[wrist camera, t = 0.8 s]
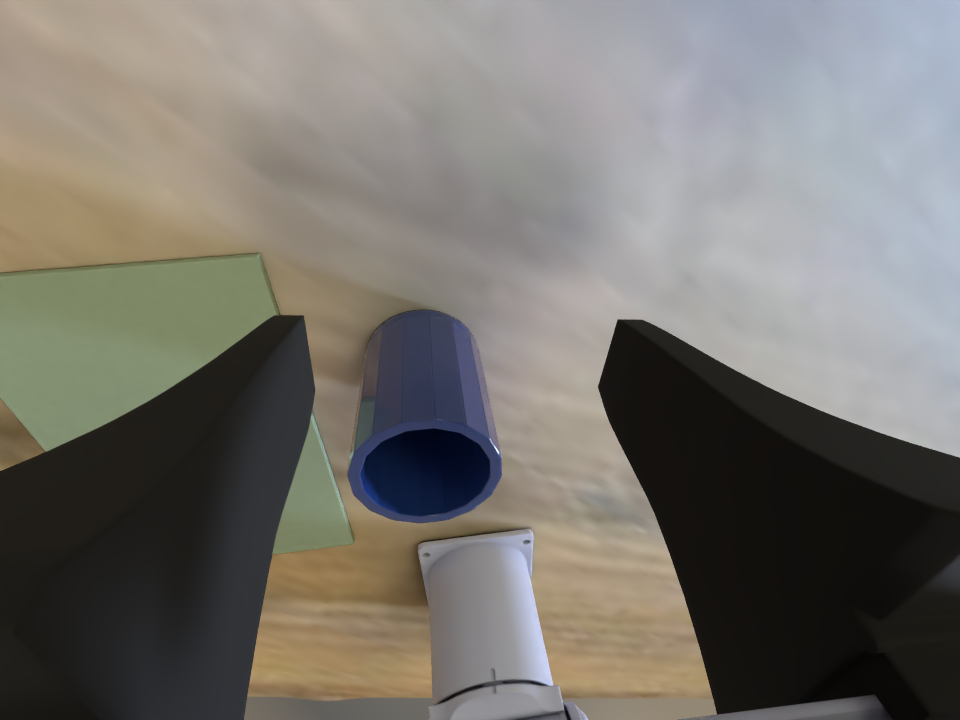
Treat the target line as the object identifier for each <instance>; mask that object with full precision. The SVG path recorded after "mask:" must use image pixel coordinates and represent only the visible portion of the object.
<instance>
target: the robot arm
mask: <svg viewBox="0 0 960 720" xmlns="http://www.w3.org/2000/svg"><path fill="white" fill-rule="evenodd" d="M598 388H599V392H600V395H601V398H602V402H603V405H604V408H605V411H606V414H607V417H608V419H609V422H610V424H611V426H612V428H613V430H614V432H615V434H616V436H617V439H618V441H619V443H620V445H621V447H622V449H623V451H624V453H625V455H626V457H627V458H628V460H629V462H630V464H631V466H632V468H633V470H634V472H635V474H636V476H637V478H638V480H639V482H640V484H641V486H642V488H643V490H644V492H645V494H646V496H647V498H648V500H649V502H650V505H651V507H652V509H653V511H654V513H655V516H656V518H657V521H658V524H659V526H660V529H661V532H662V534H663V537H664V540H665V542H666V545H667V548H668V550H669V553H670V556H671V559H672V562H673V565H674V568H675V570H676V573H677V576H678V579H679V582H680V585H681V588H682V591H683V594H684V597H685V600H686V604H687V607H688V610H689V613H690V617H691V620H692V623H693V627H694V630H695V633H696V637H697V640H698V643H699V646H700V650H701V654H702V658H703V661H704V665H705V669H706V673H707V676H708V680H709V684H710V688H711V692H712V695H713V699H714V703H715V707H716V711H717V715H711V716H703V717H695V718H687V719H679V720H960V458H959V457H955V456H952V455H949V454H945V453H942V452H939V451H935V450H932V449H929V448H925V447H922V446H919V445H915V444H912V443H909V442H906V441H903V440H900V439H897V438H894V437H891V436H887V435H884V434H881V433H879V432H876V431H873V430H870V429H868V428H865V427H862V426H859V425H857V424H854V423H851V422H848V421H846V420H843V419H840V418H838V417H835V416H833V415H830V414H828V413H825V412H822V411H820V410H818V409H815V408H813V407H811V406H808V405H806V404H804V403H802V402H799V401H797V400H795V399H792V398H790V397H788V396H786V395H783V394H781V393H779V392H777V391H775V390H773V389H771V388H769V387H766V386H764V385H763V384H761V383H759V382H757V381H755V380H753V379H751V378H749V377H747V376H745V375H743V374H741V373H739V372H737V371H735V370H734V369H732V368H730V367H728V366H726V365H724V364H723V363H721V362H719V361H717V360H715V359H714V358H712V357H710V356H708V355H707V354H705V353H703V352H701V351H700V350H698V349H696V348H694V347H693V346H691V345H689V344H687V343H686V342H684V341H682V340H680V339H679V338H677V337H675V336H673V335H672V334H670V333H668V332H666V331H664V330H662V329H661V328H659V327H657V326H655V325H653V324H651V323H648V322H646V321H644V320H618V321H617V324H616V327H615V331H614V334H613V338H612V341H611V344H610V348H609V351H608V355H607V358H606V362H605V365H604V368H603V372H602V375H601V379H600V382H599V385H598ZM314 395H315V385H314V379H313V372H312V366H311V359H310V353H309V346H308V340H307V334H306V327H305V321H304V316H293V315H274V316H272V317H271V318H269V319H268V320H266V321H265V322H263V323H262V324H261V325H259V326H258V327H256V328H255V329H254V330H252V331H251V332H250V333H248V334H247V335H246V336H244V337H243V338H242V339H240V340H239V341H238V342H236V343H235V344H234V345H232V346H231V347H230V348H228V349H227V350H225V351H224V352H223V353H221V354H220V355H219V356H217V357H216V358H215V359H213V360H212V361H210V362H209V363H207V364H206V365H204V366H203V367H201V368H200V369H198V370H197V371H195V372H194V373H192V374H191V375H189V376H188V377H186V378H185V379H183V380H182V381H180V382H179V383H177V384H175V385H174V386H172V387H171V388H169V389H168V390H166V391H164V392H163V393H161V394H160V395H158V396H156V397H154V398H153V399H151V400H149V401H148V402H146V403H144V404H142V405H140V406H139V407H137V408H135V409H133V410H131V411H129V412H128V413H126V414H124V415H122V416H120V417H118V418H116V419H115V420H113V421H111V422H109V423H107V424H105V425H103V426H101V427H99V428H96V429H94V430H92V431H90V432H88V433H86V434H84V435H81V436H79V437H77V438H75V439H73V440H71V441H68V442H66V443H64V444H62V445H60V446H58V447H56V448H53V449H51V450H49V451H47V452H45V453H43V454H40V455H38V456H36V457H34V458H31V459H29V460H26V461H24V462H22V463H19V464H17V465H14V466H12V467H9V468H7V469H5V470H2V471H0V720H244V714H245V707H246V700H247V693H248V687H249V681H250V675H251V669H252V663H253V657H254V651H255V644H256V638H257V632H258V627H259V621H260V616H261V610H262V605H263V599H264V594H265V589H266V583H267V578H268V573H269V568H270V563H271V558H272V553H273V548H274V543H275V538H276V534H277V530H278V527H279V523H280V519H281V515H282V512H283V509H284V506H285V503H286V500H287V497H288V493H289V490H290V487H291V484H292V481H293V478H294V475H295V471H296V468H297V465H298V462H299V459H300V456H301V452H302V449H303V446H304V443H305V440H306V436H307V433H308V430H309V425H310V420H311V414H312V408H313V401H314ZM532 554H533V532H532V530H530V529H522V530H514V531H506V532H499V533H491V534H483V535H475V536H468V537H460V538H452V539H445V540H437V541H429V542H423V543H421V544H419V545H418V555H419V560H420V565H421V570H422V575H423V580H424V585H425V590H426V595H427V600H428V605H429V610H430V634H431V665H432V696H433V705H432V706H429V707H428V720H588V718H587V717H586V715H585V714H584V713H583V712H582V711H581V710H580V709H579V708H577V706H576V705H575V704H574V703H573V702H564V703H563V701H562V696H561V692H560V688H559V686H558V685H553V682H552V677H551V673H550V668H549V664H548V659H547V655H546V650H545V645H544V641H543V636H542V632H541V627H540V623H539V618H538V613H537V609H536V604H535V600H534V595H533V590H532V586H531V571H532Z"/></svg>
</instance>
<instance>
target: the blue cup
mask: <svg viewBox="0 0 960 720" xmlns="http://www.w3.org/2000/svg"><path fill="white" fill-rule="evenodd" d="M347 476H348V479H349V482H350V486H351V489H352V492H353V494H354V496H355V497H356V498H357V499H358V500H359V501H360V502H361V503H362V504H363V505H365V506H366V507H367V508H368V509H369V510H370V511H372V512H375V513H377V514H379V515H382V516H384V517H387V518H389V519H391V520H395V521H403V522H412V523H428V522H436V521H444V520H447V519H448V520H449V519H451V518H454V517H457V516H459V515H462V514H464V513H467V512H469V511H471V510H473V509H475V508H476V507H477V506H478V505H480V504H481V503H482V502H483V501H485V500H486V499H487V498H489V497H490V496H491V495H492V493H493V491H494V489H495V488H496V486H497V484H498V482H499V481H500V479H501V476H502V457H501V452H500V447H499V443H498V438H497V433H496V429H495V424H494V419H493V415H492V410H491V405H490V401H489V396H488V391H487V387H486V382H485V377H484V373H483V368H482V363H481V359H480V354H479V350H478V348H477V345H476V342H475V339H474V337H473V335H472V334H471V333H470V331H469V330H468V329H467V328H466V327H465V326H464V325H463V324H462V323H461V322H460V321H458V320H457V319H455V318H453V317H451V316H449V315H447V314H444V313H441V312H437V311H432V310H413V311H408V312H404V313H400V314H398V315H396V316H393V317H392V318H390V319H388V320H387V321H385V322H384V323H382V324H381V325H380V326H379V327H378V328H377V329H376V330H375V332H374V333H373V334H372V336H371V338H370V340H369V342H368V345H367V349H366V354H365V358H364V362H363V369H362V376H361V383H360V390H359V396H358V403H357V410H356V417H355V424H354V431H353V437H352V444H351V451H350V458H349V465H348V471H347Z"/></svg>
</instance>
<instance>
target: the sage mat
mask: <svg viewBox="0 0 960 720" xmlns="http://www.w3.org/2000/svg"><path fill="white" fill-rule="evenodd" d="M274 315H280V314H279V311H278V308H277V305H276V302H275V299H274V296H273V293H272V290H271V287H270V283H269V280H268V277H267V274H266V271H265V268H264V265H263V262H262V259H261V256H260V254H259V253H256V254H243V255H231V256H218V257H205V258H192V259H179V260H166V261H153V262H140V263H127V264H114V265H101V266H88V267H76V268H63V269H50V270H37V271H24V272H11V273H0V398H1V399H2V401H3V402H4V403H5V404H6V405H7V407H8V408H9V409H10V410H11V411H12V412H13V414H14V415H15V416H16V417H17V418H18V420H19V421H20V422H21V423H22V424H23V426H24V427H25V428H26V429H27V430H28V431H29V433H30V434H31V435H32V436H33V437H34V439H35V440H36V441H37V442H38V443H39V444H40V446H41V447H42V448H43V449H44V450H45V452H47V451H49V450H51V449H53V448H56V447H58V446H60V445H62V444H64V443H66V442H68V441H71V440H73V439H75V438H77V437H79V436H81V435H84V434H86V433H88V432H90V431H92V430H94V429H96V428H99V427H101V426H103V425H105V424H107V423H109V422H111V421H113V420H115V419H116V418H118V417H120V416H122V415H124V414H126V413H128V412H129V411H131V410H133V409H135V408H137V407H139V406H140V405H142V404H144V403H146V402H148V401H149V400H151V399H153V398H154V397H156V396H158V395H160V394H161V393H163V392H164V391H166V390H168V389H169V388H171V387H172V386H174V385H175V384H177V383H179V382H180V381H182V380H183V379H185V378H186V377H188V376H189V375H191V374H192V373H194V372H195V371H197V370H198V369H200V368H201V367H203V366H204V365H206V364H207V363H209V362H210V361H212V360H213V359H215V358H216V357H217V356H219V355H220V354H221V353H223V352H224V351H225V350H227V349H228V348H230V347H231V346H232V345H234V344H235V343H236V342H238V341H239V340H240V339H242V338H243V337H244V336H246V335H247V334H248V333H250V332H251V331H252V330H254V329H255V328H256V327H258V326H259V325H261V324H262V323H263V322H265V321H266V320H268V319H269V318H271V317H272V316H274ZM351 544H354V536H353V533H352V530H351V527H350V524H349V521H348V518H347V515H346V512H345V509H344V506H343V503H342V500H341V497H340V494H339V491H338V488H337V485H336V482H335V479H334V476H333V473H332V470H331V467H330V464H329V461H328V458H327V455H326V452H325V449H324V446H323V443H322V440H321V437H320V434H319V431H318V428H317V425H316V422H315V419H314V416H313V413H312V414H311V420H310V425H309V430H308V433H307V436H306V440H305V443H304V446H303V449H302V452H301V456H300V459H299V462H298V465H297V468H296V471H295V475H294V478H293V481H292V484H291V487H290V490H289V493H288V497H287V500H286V503H285V506H284V509H283V512H282V515H281V519H280V523H279V527H278V530H277V534H276V538H275V543H274V548H273V553H272V555H274V554H281V553H289V552H297V551H305V550H312V549H320V548H328V547H336V546H344V545H351Z"/></svg>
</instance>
